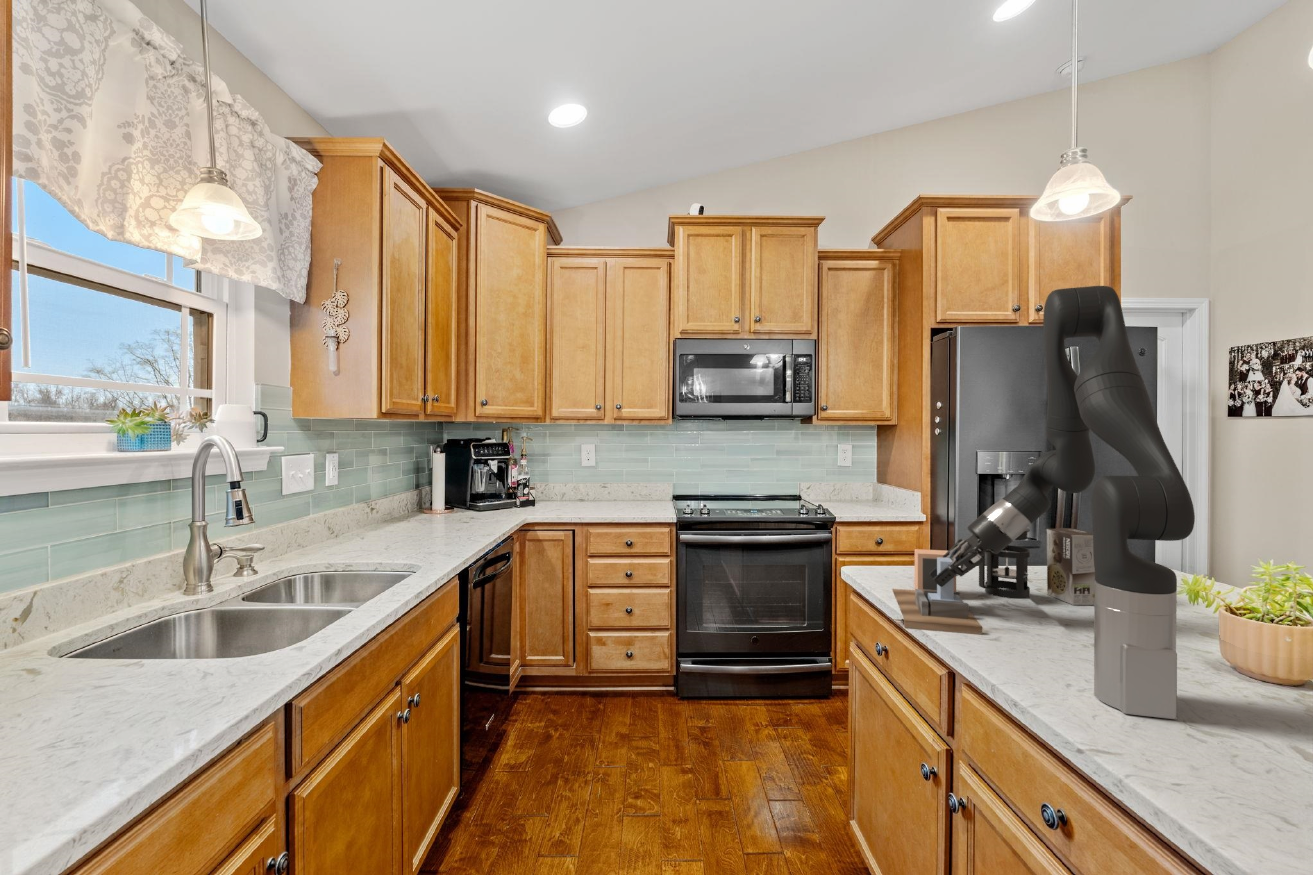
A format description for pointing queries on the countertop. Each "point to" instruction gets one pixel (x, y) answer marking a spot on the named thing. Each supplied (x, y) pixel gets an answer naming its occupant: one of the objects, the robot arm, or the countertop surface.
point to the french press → (1006, 572)
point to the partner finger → (927, 568)
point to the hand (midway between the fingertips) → (935, 580)
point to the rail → (935, 613)
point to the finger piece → (948, 589)
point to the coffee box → (1070, 566)
